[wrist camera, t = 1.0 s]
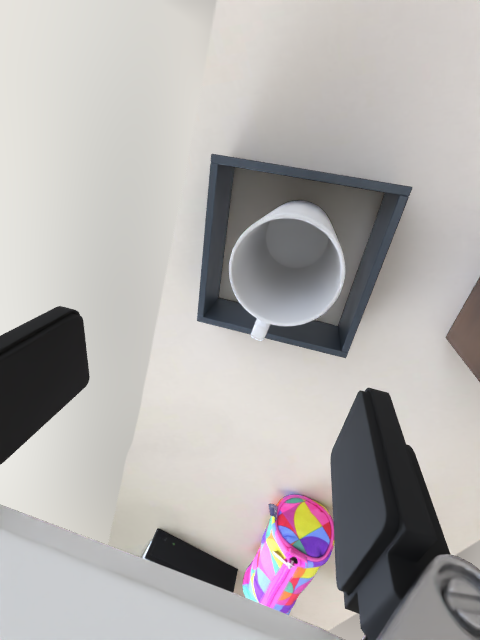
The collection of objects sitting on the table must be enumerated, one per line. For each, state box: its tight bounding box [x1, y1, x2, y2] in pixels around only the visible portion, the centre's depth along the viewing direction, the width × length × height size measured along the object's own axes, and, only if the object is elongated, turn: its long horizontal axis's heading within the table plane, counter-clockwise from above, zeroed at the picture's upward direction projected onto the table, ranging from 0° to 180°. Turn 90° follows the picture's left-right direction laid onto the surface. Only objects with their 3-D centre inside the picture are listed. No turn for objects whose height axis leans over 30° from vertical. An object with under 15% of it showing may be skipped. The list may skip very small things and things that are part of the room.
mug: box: [229, 200, 345, 341], centre depth 23 cm, size 10×7×12 cm, turn 161°
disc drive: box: [142, 529, 238, 593], centre depth 61 cm, size 18×22×5 cm
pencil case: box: [243, 494, 334, 615], centre depth 44 cm, size 22×9×9 cm, turn 170°
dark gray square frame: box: [197, 154, 412, 358], centre depth 26 cm, size 14×14×5 cm
